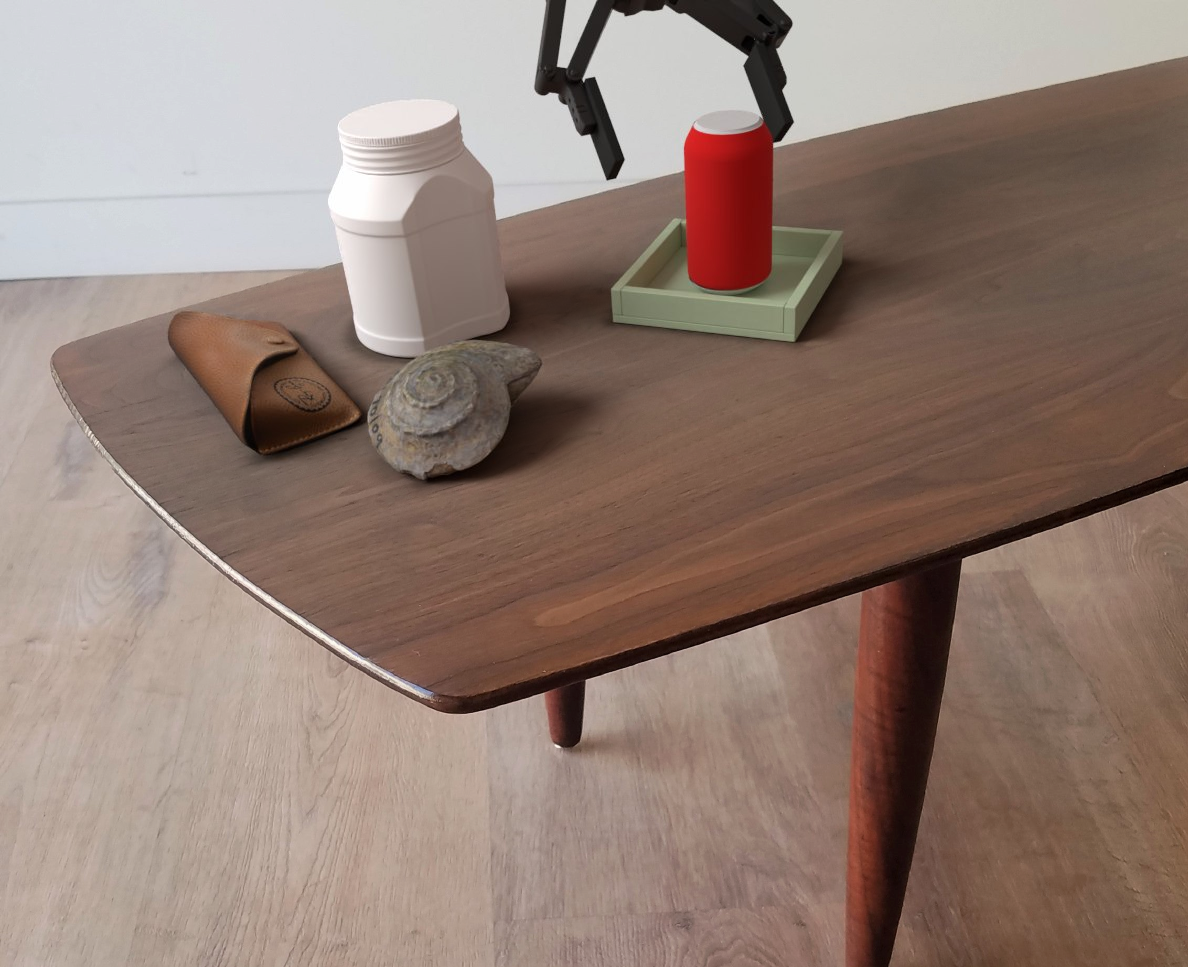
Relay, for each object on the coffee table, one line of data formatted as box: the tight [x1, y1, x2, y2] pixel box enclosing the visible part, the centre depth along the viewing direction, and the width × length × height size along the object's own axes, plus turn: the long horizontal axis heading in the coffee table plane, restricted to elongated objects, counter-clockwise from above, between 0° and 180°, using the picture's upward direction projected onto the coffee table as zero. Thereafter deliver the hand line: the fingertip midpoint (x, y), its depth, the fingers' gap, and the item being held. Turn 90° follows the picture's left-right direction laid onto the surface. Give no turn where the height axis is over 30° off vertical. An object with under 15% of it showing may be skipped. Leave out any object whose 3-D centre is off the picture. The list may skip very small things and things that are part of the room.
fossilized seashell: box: [367, 339, 543, 481], centre depth 77 cm, size 11×11×7 cm
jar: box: [327, 98, 511, 359], centre depth 87 cm, size 12×10×15 cm
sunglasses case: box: [167, 310, 363, 456], centre depth 84 cm, size 18×7×7 cm
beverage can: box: [683, 109, 774, 296], centre depth 88 cm, size 6×6×12 cm
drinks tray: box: [610, 217, 844, 343], centre depth 91 cm, size 14×14×3 cm
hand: (701, 151), depth 89 cm, fingers open, 13 cm apart
